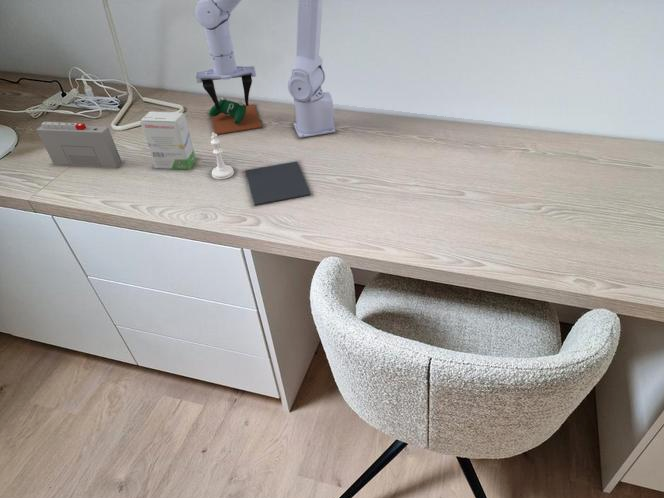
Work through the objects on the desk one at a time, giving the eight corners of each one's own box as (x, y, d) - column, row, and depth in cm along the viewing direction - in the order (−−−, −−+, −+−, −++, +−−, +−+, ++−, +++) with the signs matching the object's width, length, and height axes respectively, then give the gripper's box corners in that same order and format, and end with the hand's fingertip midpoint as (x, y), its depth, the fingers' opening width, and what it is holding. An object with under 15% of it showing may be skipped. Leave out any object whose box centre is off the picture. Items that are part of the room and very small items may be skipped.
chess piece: (238, 170, 113) (229, 130, 106) (225, 181, 110) (215, 140, 103) (220, 165, 115) (210, 125, 108) (207, 176, 111) (196, 136, 104)
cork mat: (254, 105, 138) (253, 104, 137) (262, 127, 128) (261, 126, 128) (210, 112, 135) (210, 110, 135) (215, 135, 125) (214, 133, 125)
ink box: (154, 168, 114) (137, 120, 106) (163, 157, 118) (147, 110, 110) (190, 170, 113) (176, 122, 105) (197, 158, 117) (184, 111, 109)
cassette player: (122, 162, 117) (106, 122, 110) (116, 168, 115) (100, 128, 108) (60, 158, 118) (41, 119, 111) (54, 164, 116) (33, 125, 109)
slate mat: (297, 162, 115) (296, 161, 115) (310, 195, 105) (310, 193, 105) (245, 171, 113) (245, 170, 112) (254, 205, 103) (254, 204, 103)
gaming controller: (243, 129, 130) (251, 108, 131) (237, 123, 127) (245, 101, 127) (214, 120, 133) (222, 99, 133) (207, 113, 129) (215, 92, 129)
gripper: (190, 61, 115) (204, 116, 125) (252, 55, 118) (261, 109, 127) (191, 51, 120) (204, 104, 130) (250, 45, 123) (259, 97, 132)
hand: (232, 106), depth 129 cm, fingers open, 7 cm apart
